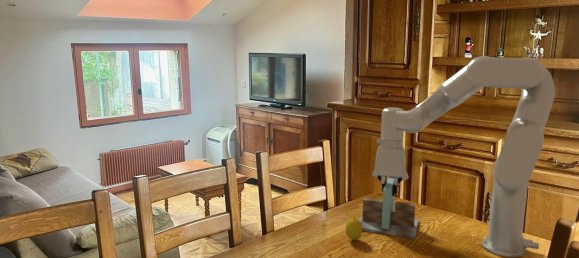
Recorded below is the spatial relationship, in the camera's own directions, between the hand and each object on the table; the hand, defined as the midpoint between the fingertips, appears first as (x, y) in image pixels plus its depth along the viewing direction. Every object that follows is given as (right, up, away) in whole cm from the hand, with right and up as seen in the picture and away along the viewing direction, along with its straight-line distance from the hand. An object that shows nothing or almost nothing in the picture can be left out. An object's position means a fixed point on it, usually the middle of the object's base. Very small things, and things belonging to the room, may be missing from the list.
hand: (389, 193), depth 152 cm
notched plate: (0, -10, +2) cm, 10 cm away
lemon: (-14, -14, -9) cm, 22 cm away
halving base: (0, -12, +2) cm, 12 cm away
